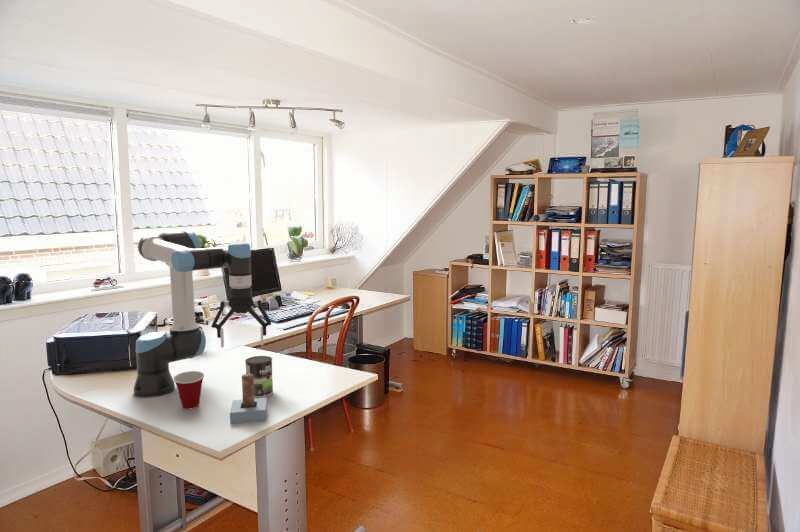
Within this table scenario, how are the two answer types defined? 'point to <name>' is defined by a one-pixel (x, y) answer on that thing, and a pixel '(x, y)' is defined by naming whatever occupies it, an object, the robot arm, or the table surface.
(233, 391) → the table surface
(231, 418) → the socket block
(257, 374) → the coffee can
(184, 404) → the plastic cup
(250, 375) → the peg
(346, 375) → the table surface
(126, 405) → the table surface
